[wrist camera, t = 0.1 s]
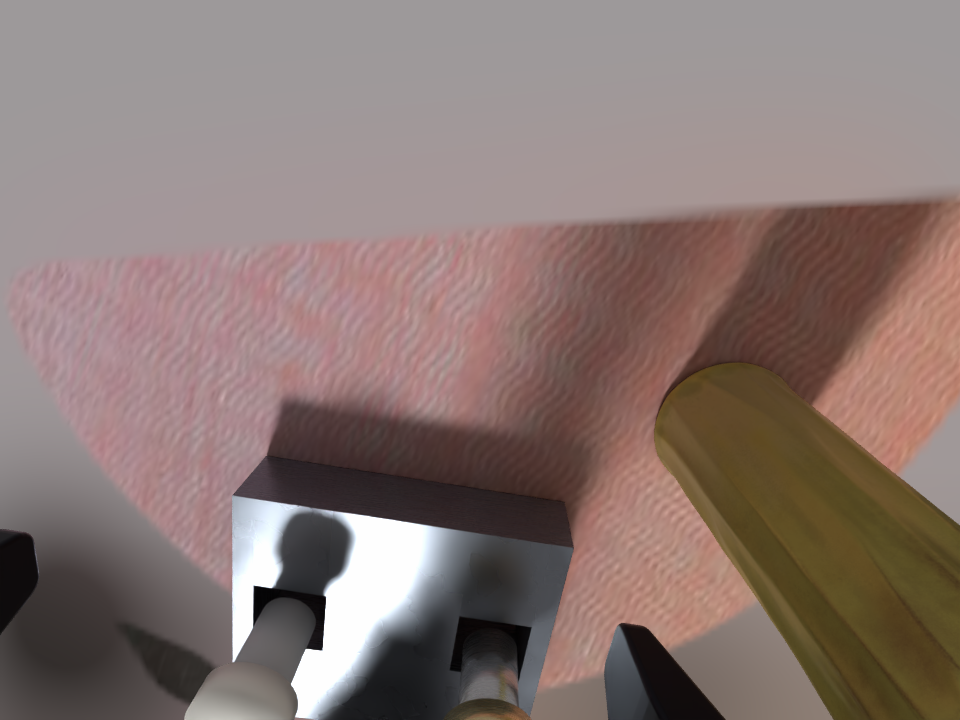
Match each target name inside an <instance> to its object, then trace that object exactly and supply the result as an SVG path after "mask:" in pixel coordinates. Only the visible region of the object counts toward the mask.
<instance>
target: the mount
mask: <svg viewBox="0 0 960 720" xmlns="http://www.w3.org/2000/svg"><path fill="white" fill-rule="evenodd" d="M573 549H574V547H573V542H572V537H571V532H570V527H569V522H568V517H567V512H566V507H565V502H560V501H553V500H547V499H541V498H534V497H528V496H521V495H515V494H508V493H502V492H495V491H489V490H483V489H476V488H470V487H463V486H457V485H450V484H444V483H437V482H431V481H425V480H418V479H412V478H405V477H399V476H392V475H386V474H379V473H373V472H367V471H360V470H354V469H347V468H341V467H334V466H328V465H321V464H315V463H309V462H302V461H296V460H289V459H283V458H276V457H270V456H266V457H265V458H264V459H263V460H262V462H261V463H260V464H259V465H258V466H257V467H256V469H255V470H254V471H253V472H252V473H251V474H250V476H249V477H248V478H247V479H246V480H245V481H244V483H243V484H242V485H241V486H240V487H239V488H238V490H237V491H236V492H235V493H234V494H233V495H232V561H233V662H234V661H235V659H236V657H237V655H238V654H239V652H240V650H241V648H242V646H243V645H244V643H245V641H246V639H247V637H248V636H249V634H250V632H251V630H252V628H253V627H254V625H255V623H256V621H257V619H258V618H259V616H260V614H261V612H262V610H263V609H264V607H265V606H266V604H267V603H269V602H270V601H272V600H274V599H277V598H293V599H296V600H299V601H301V602H303V603H304V604H306V605H307V606H308V607H309V608H310V609H311V610H312V612H313V613H314V615H315V619H316V626H315V629H314V631H313V633H312V636H311V638H310V641H309V643H308V645H307V648H306V650H305V653H304V655H303V657H302V660H301V662H300V665H299V667H298V669H297V672H296V674H295V677H294V679H293V681H292V684H291V685H292V687H293V688H294V690H295V692H296V694H297V697H298V710H297V713H296V716H295V717H300V718H307V719H314V720H443V719H444V717H445V716H446V714H447V713H448V712H449V711H450V710H451V709H453V708H454V707H456V706H457V705H458V703H459V691H460V678H461V665H462V653H463V644H464V641H465V640H466V638H467V637H468V636H469V635H470V634H471V633H473V632H475V631H477V630H480V629H486V628H491V629H498V630H501V631H503V632H505V633H507V634H508V635H510V636H511V637H512V638H513V640H514V641H515V643H516V647H517V670H518V697H519V708H521V709H522V710H523V711H524V712H525V713H527V714H528V716H529V717H530V714H531V709H532V706H533V702H534V698H535V694H536V691H537V687H538V683H539V679H540V675H541V672H542V668H543V664H544V660H545V656H546V652H547V649H548V645H549V641H550V637H551V633H552V630H553V626H554V622H555V618H556V614H557V611H558V607H559V603H560V599H561V595H562V591H563V588H564V584H565V580H566V576H567V572H568V569H569V565H570V561H571V557H572V553H573Z"/></svg>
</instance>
